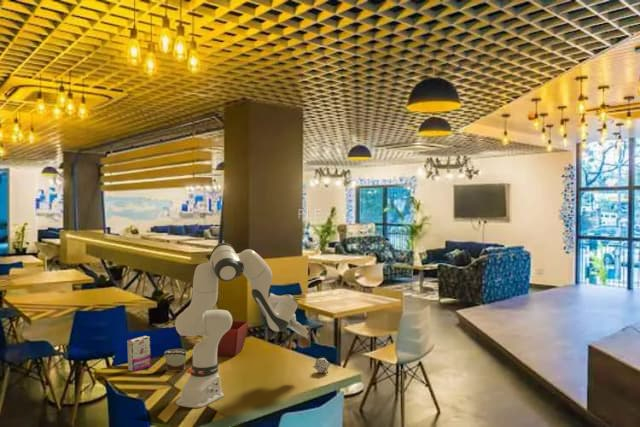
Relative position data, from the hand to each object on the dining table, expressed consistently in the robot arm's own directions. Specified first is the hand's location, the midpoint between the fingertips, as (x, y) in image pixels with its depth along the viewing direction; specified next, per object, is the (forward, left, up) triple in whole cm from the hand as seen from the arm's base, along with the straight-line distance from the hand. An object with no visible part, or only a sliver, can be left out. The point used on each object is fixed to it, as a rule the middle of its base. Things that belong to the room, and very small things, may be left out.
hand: (305, 335), depth 256 cm
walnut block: (0, 0, -5) cm, 5 cm away
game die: (+8, -6, -21) cm, 24 cm away
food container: (-9, +70, -21) cm, 74 cm away
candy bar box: (-15, +90, -21) cm, 94 cm away
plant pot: (+24, +58, -21) cm, 66 cm away
